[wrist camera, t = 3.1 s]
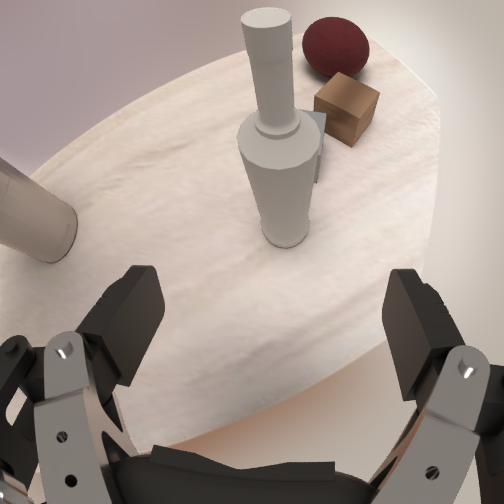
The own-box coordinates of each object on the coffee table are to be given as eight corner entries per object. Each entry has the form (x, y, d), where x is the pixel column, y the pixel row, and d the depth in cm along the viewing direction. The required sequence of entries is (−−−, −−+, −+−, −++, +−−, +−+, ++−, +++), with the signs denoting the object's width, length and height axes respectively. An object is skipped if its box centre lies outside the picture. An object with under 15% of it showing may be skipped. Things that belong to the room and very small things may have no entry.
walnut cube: (312, 126, 36) (314, 95, 31) (334, 102, 37) (338, 71, 31) (351, 148, 35) (359, 118, 29) (371, 121, 36) (380, 92, 30)
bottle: (285, 197, 34) (265, -13, 10) (318, 227, 32) (355, 18, 9) (252, 227, 33) (179, 28, 10) (285, 259, 32) (265, 65, 8)
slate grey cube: (267, 175, 35) (262, 146, 29) (276, 137, 37) (273, 106, 31) (316, 183, 34) (320, 155, 28) (322, 144, 35) (326, 113, 30)
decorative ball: (327, 98, 37) (331, 44, 28) (290, 62, 40) (287, 13, 31) (377, 80, 38) (388, 32, 28) (338, 48, 41) (342, 3, 31)
